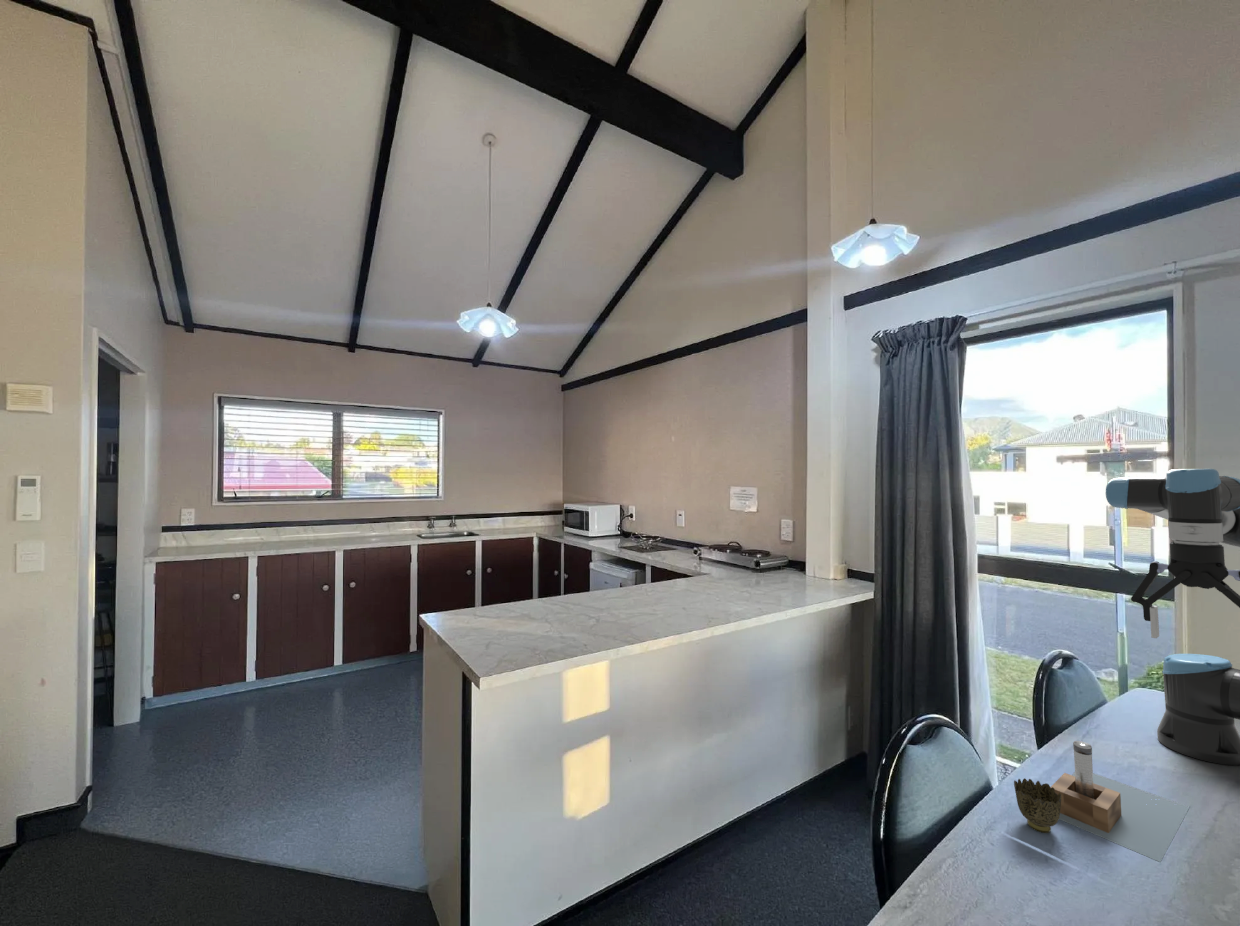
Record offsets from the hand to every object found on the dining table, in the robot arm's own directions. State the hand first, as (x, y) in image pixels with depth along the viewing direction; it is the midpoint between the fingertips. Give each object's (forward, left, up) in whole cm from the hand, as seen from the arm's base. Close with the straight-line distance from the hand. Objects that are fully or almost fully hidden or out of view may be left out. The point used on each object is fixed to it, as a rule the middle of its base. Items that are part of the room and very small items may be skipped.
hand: (1201, 644), depth 106 cm
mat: (+14, -12, -35) cm, 39 cm away
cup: (+33, -19, -35) cm, 52 cm away
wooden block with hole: (+20, -15, -34) cm, 42 cm away
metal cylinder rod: (+20, -15, -34) cm, 42 cm away
